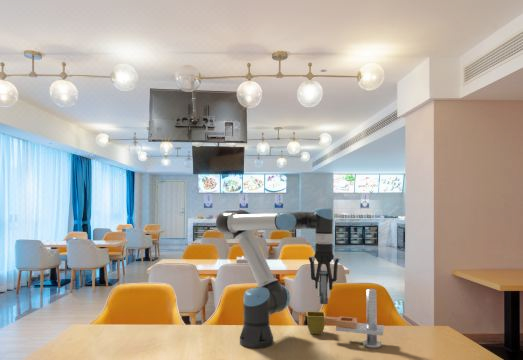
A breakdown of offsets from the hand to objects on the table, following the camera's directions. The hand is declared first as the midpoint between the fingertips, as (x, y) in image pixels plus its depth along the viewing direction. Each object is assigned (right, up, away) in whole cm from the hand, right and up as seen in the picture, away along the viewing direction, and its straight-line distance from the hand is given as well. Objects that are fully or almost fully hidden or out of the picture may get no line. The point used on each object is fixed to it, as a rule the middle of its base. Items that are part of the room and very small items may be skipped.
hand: (323, 296), depth 183 cm
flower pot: (-1, -23, +18) cm, 29 cm away
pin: (0, -3, 0) cm, 3 cm away
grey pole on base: (+14, -22, +4) cm, 26 cm away
